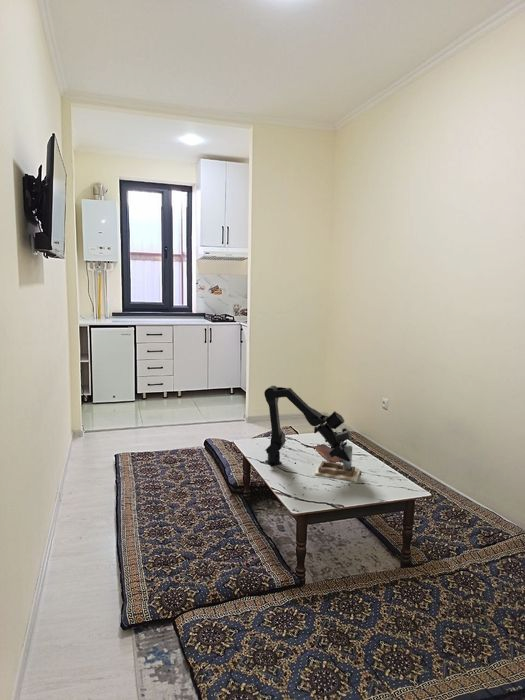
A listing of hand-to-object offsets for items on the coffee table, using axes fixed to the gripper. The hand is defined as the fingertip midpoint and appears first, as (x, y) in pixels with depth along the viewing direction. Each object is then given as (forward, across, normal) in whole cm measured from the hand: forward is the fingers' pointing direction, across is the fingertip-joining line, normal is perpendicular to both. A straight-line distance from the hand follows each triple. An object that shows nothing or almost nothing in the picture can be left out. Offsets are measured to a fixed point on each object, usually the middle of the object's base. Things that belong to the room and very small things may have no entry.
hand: (350, 459), depth 227 cm
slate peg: (+4, 0, +6) cm, 7 cm away
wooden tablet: (-5, +24, +17) cm, 29 cm away
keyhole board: (+2, 0, +10) cm, 10 cm away
